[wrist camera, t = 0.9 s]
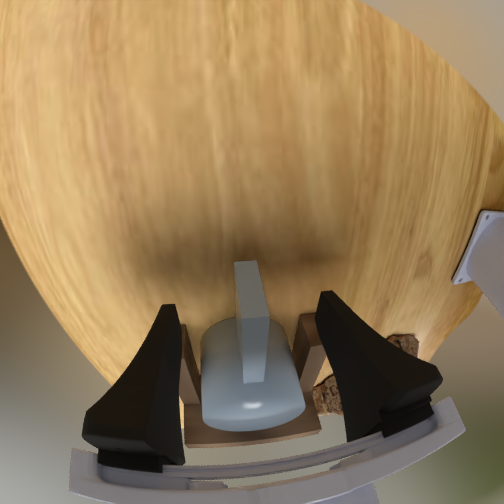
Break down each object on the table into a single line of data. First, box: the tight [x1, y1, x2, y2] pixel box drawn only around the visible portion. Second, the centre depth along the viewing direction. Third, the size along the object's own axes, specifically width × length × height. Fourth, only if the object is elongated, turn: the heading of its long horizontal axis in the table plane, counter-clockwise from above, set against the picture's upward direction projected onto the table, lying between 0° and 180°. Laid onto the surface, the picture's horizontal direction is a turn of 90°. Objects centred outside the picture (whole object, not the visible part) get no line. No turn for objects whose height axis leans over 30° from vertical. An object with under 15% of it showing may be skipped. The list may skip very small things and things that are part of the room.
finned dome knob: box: [200, 260, 305, 431], centre depth 17 cm, size 7×13×6 cm, turn 179°
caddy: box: [179, 313, 326, 448], centre depth 19 cm, size 12×9×7 cm
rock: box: [311, 335, 419, 416], centre depth 26 cm, size 15×10×6 cm
